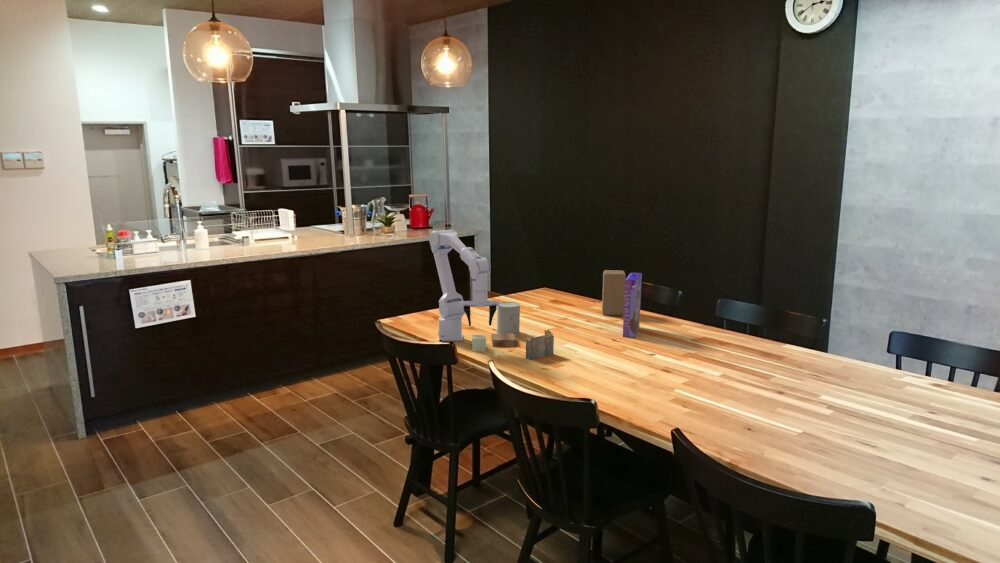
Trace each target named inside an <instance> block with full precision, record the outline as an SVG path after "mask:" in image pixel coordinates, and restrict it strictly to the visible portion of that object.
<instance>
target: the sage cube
mask: <svg viewBox="0 0 1000 563" xmlns="http://www.w3.org/2000/svg"><path fill="white" fill-rule="evenodd" d="M471 338H472V340H471V343H472V344H471V345H472V346H471V347H472V348H471V349H472V352H486V351H487V338H486V334H473V335H471Z"/></svg>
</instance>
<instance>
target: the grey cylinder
mask: <svg viewBox="0 0 1000 563" xmlns="http://www.w3.org/2000/svg"><path fill="white" fill-rule="evenodd" d="M496 308H497V309H496V314H497V315H496V318H497V319H496V334H506V333H514V335H516V336H518V335H520V326H521V325H520V322H521V321H520V318H521V316H520V315H521V304H520V303H519V302H517V301H501V302H500V301H499V307H496Z"/></svg>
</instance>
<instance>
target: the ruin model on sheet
mask: <svg viewBox="0 0 1000 563" xmlns="http://www.w3.org/2000/svg"><path fill="white" fill-rule="evenodd" d="M543 332H544V335H540V336H535V337H531V338H530V339H525V359H526V360H529V361H533V360H537V359H540V358H545V357H549V356H553V355H554V350H555V348H554V347H555V346H554V344H555V336H554V335H553V334H554V333H553V332H551V330H550V329H549V328H547V329H546V330H545V329H543Z"/></svg>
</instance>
